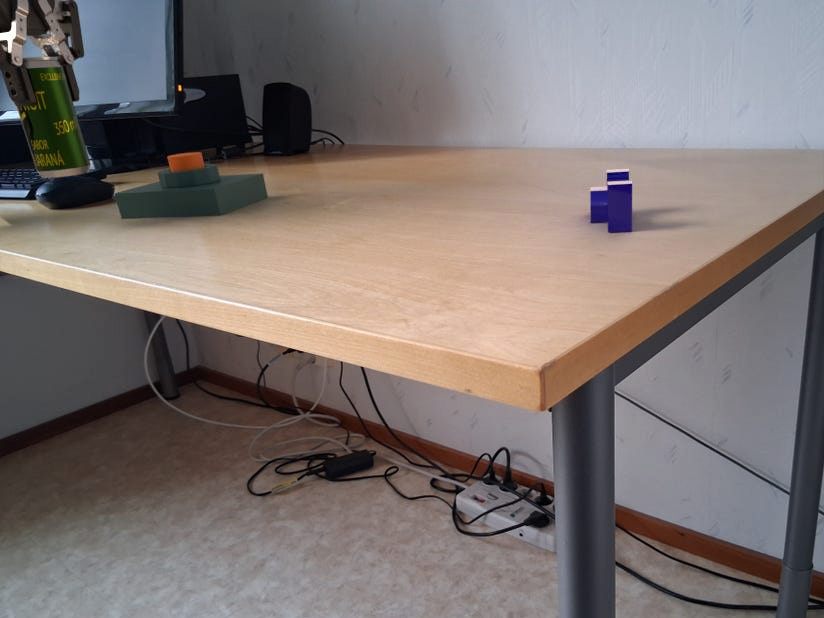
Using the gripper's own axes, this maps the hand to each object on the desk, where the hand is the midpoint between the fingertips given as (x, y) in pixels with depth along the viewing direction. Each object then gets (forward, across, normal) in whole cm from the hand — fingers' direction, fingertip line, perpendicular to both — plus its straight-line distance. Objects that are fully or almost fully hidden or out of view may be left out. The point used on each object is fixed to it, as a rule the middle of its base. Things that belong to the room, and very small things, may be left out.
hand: (48, 103), depth 75 cm
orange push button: (+9, -11, +7) cm, 16 cm away
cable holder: (+14, +3, +60) cm, 62 cm away
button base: (+14, -11, +7) cm, 19 cm away
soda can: (+8, 0, 0) cm, 8 cm away
